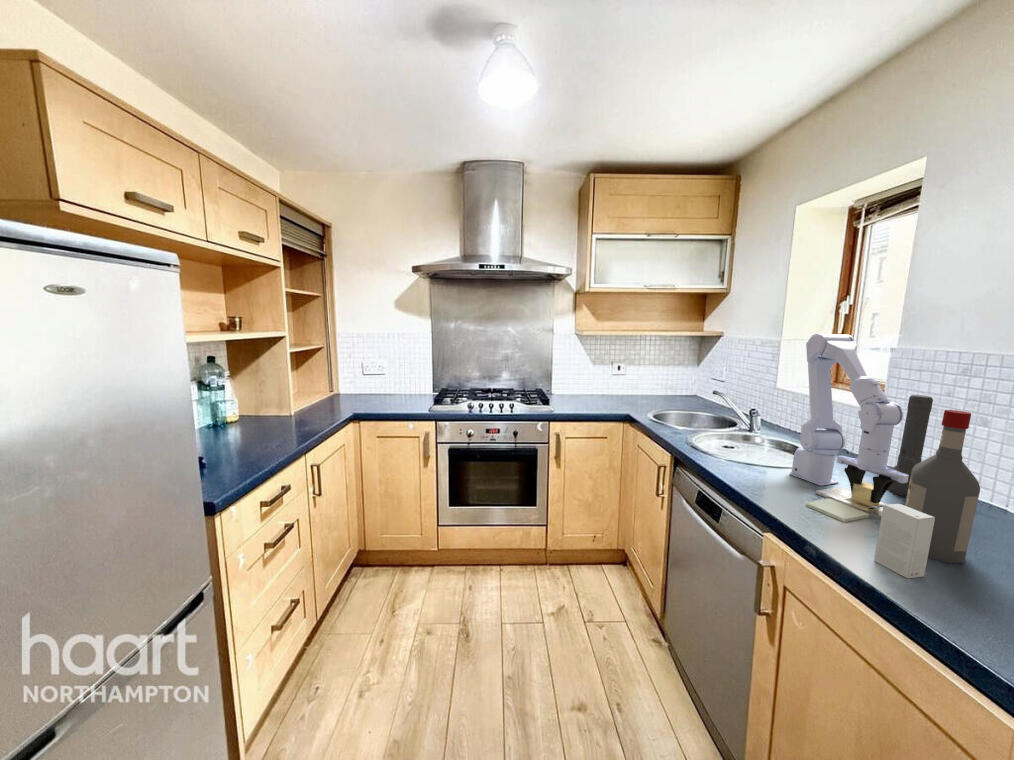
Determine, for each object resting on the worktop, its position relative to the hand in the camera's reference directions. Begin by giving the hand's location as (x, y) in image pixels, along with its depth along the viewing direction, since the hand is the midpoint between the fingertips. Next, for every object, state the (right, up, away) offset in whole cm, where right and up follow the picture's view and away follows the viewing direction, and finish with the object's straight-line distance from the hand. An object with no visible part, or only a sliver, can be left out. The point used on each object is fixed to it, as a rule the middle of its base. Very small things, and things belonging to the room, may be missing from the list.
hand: (865, 498), depth 105 cm
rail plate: (0, -2, 0) cm, 2 cm away
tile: (-10, -2, -3) cm, 11 cm away
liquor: (-4, -5, -20) cm, 21 cm away
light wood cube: (0, -1, 0) cm, 1 cm away
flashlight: (+20, -1, +10) cm, 22 cm away
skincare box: (-18, -6, -27) cm, 33 cm away
